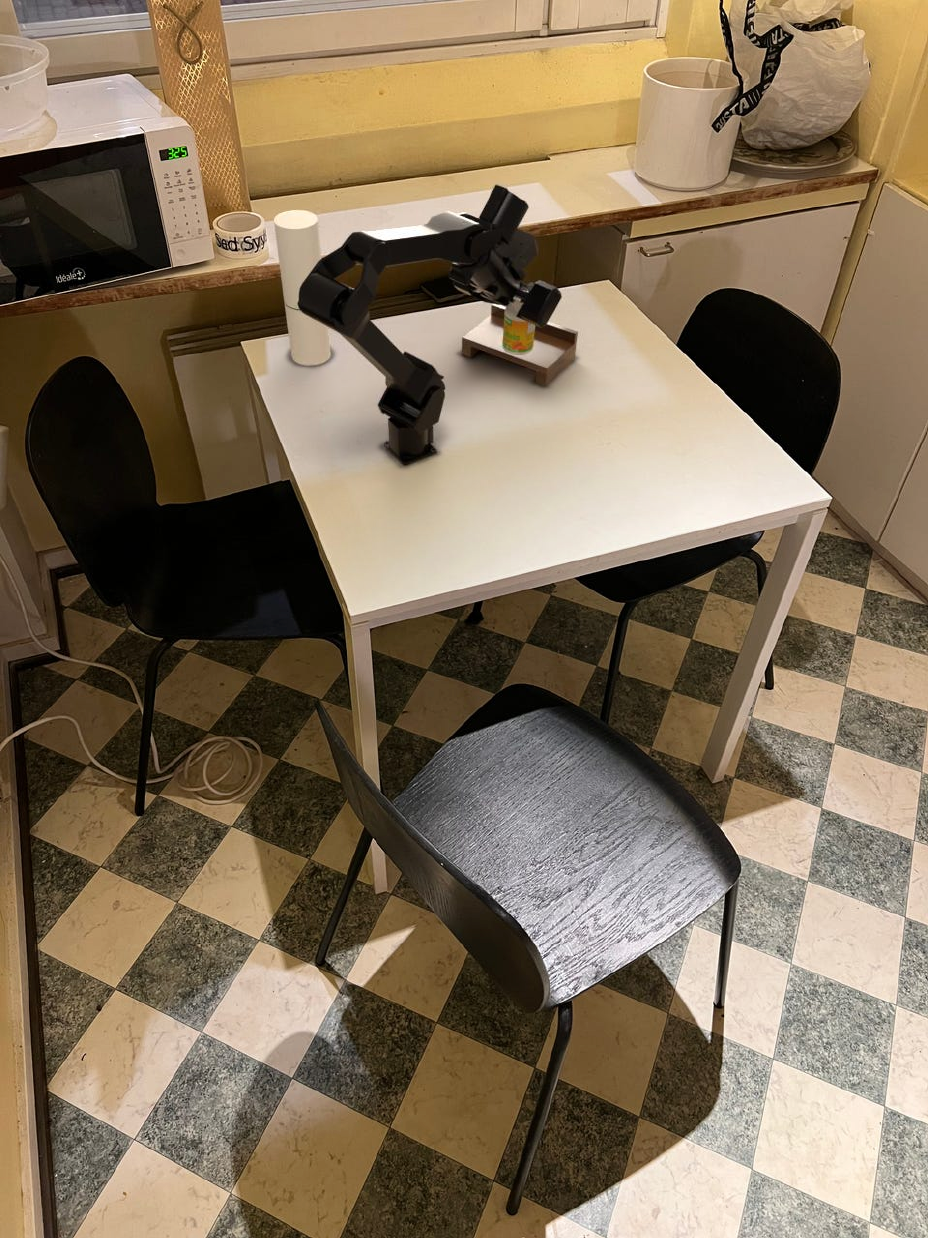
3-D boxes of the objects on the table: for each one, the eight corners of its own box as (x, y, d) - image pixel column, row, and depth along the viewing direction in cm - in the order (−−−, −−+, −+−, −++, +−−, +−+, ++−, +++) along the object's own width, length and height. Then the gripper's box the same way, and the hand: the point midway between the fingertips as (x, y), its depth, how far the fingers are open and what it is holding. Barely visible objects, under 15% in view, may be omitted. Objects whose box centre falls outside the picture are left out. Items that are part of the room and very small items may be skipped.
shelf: (545, 385, 163) (548, 358, 159) (461, 354, 169) (462, 327, 165) (574, 358, 169) (578, 331, 165) (492, 329, 176) (494, 302, 171)
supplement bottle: (495, 348, 158) (499, 295, 151) (513, 336, 161) (517, 284, 154) (521, 359, 156) (526, 306, 149) (539, 346, 159) (544, 293, 152)
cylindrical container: (334, 346, 170) (321, 211, 152) (326, 366, 165) (312, 230, 147) (296, 343, 170) (279, 208, 152) (287, 363, 166) (269, 227, 147)
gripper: (561, 239, 135) (594, 285, 149) (466, 201, 143) (506, 248, 157) (523, 307, 137) (560, 346, 151) (432, 266, 145) (475, 307, 159)
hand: (525, 309), depth 154 cm, fingers closed on supplement bottle, 5 cm apart
